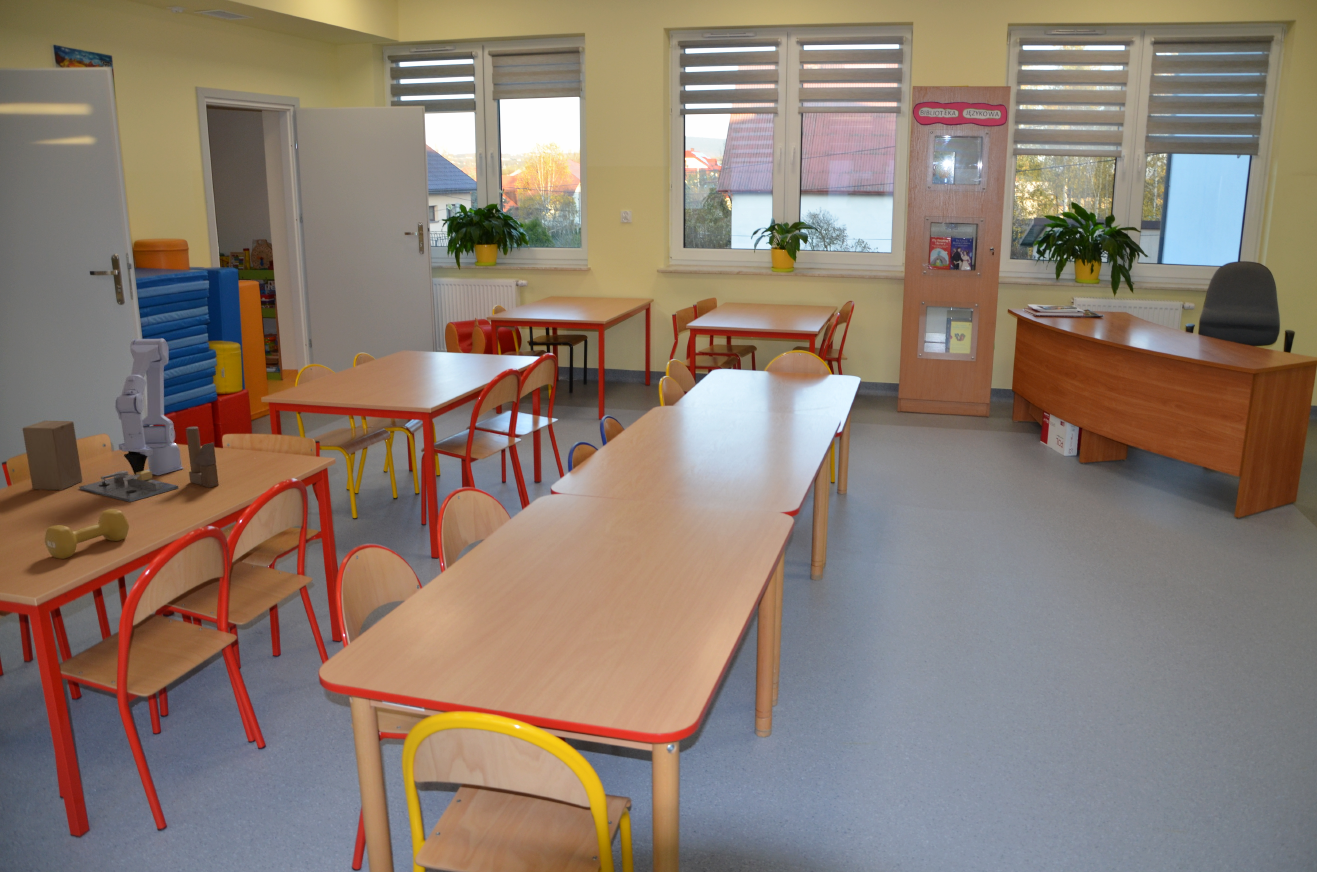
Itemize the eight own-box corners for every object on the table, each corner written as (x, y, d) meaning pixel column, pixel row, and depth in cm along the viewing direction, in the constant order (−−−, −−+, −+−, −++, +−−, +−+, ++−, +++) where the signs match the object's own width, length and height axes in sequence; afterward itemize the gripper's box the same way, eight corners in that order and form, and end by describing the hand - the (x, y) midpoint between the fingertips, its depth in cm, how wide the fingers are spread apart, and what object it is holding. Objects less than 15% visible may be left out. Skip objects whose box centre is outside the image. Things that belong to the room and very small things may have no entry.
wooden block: (83, 481, 311) (74, 420, 306) (61, 490, 301) (51, 428, 296) (54, 480, 312) (44, 420, 307) (31, 489, 302) (21, 427, 297)
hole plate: (128, 476, 316) (126, 466, 315) (178, 488, 304) (177, 477, 303) (79, 489, 303) (77, 478, 302) (129, 502, 290) (128, 490, 289)
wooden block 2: (208, 488, 304) (201, 432, 299) (189, 482, 310) (182, 428, 305) (219, 485, 307) (212, 430, 302) (200, 479, 312) (194, 425, 308)
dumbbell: (113, 534, 264) (109, 505, 262) (134, 539, 260) (130, 510, 258) (43, 556, 248) (38, 526, 246) (64, 562, 244) (59, 532, 242)
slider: (147, 482, 305) (145, 469, 304) (153, 483, 304) (151, 471, 303) (122, 488, 299) (120, 476, 298) (128, 490, 297) (126, 477, 296)
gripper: (107, 432, 301) (113, 474, 304) (135, 438, 294) (141, 481, 297) (128, 428, 307) (134, 469, 310) (156, 433, 300) (162, 475, 303)
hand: (139, 474), depth 304 cm, fingers closed
